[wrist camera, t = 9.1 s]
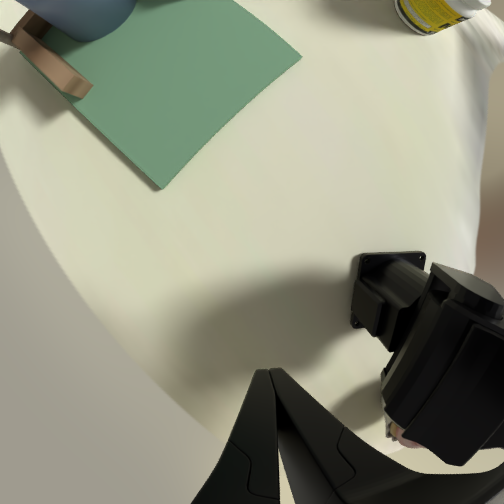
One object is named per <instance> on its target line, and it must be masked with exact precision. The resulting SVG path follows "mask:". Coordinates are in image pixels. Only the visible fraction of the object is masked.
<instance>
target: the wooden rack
mask: <svg viewBox="0 0 504 504" xmlns="http://www.w3.org/2000/svg"><path fill="white" fill-rule="evenodd" d="M52 26H53V25H52V24H50V23H49V22H47V21H46V20H44V19H43V18H42V17H40V16H39V15H37V14H36V13H34V12H33V11H31V10H30V9H29V10H28V11H27V12H26V14H25V15H24V16H23V17H22V18H21V20H20V21H19V22H18V23H17V24H16V26H15V27H14V28H13V30H12V31H11V32H10V33H7V32H5V31H3V30H1V29H0V41H1V42H3V43H5V44H8V45H10V46H13V47H15V48H17V49H19V50H21V51H22V52H23V53H24V54H25V55H26V56H27V57H28V58H29V59H30V60H31V61H32V62H33V63H34V64H35V65H36V66H37V67H38V68H39V69H40V70H41V71H42V72H43V73H44V74H45V75H46V76H47V77H48V78H49V79H50V80H51V81H52V82H53V83H54V84H55V85H56V86H57V87H58V88H59V89H60V90H61V91H63V92H66V93H69V94H71V95H74V96H76V97H79V98H82V99H83V98H84V97H85V96H86V94H87V93H88V92H89V91H90V89H91V88H92V87H93V86H94V85H93V84H92V83H90V82H89V81H88V80H87V79H86V78H85V77H84V76H82V75H81V74H80V73H79V72H78V71H77V70H76V69H75V68H73V67H72V66H71V65H70V64H69V63H68V62H67V61H65V60H64V59H63V58H62V57H61V56H60V55H59V54H57V53H56V52H55V51H54V50H53V49H52V48H51V47H49V46H48V45H47V44H46V43H45V42H44V41H42V40H41V39H42V38H43V36H44V35H45V34H46V33H47V32H48V31H49V29H50V28H51V27H52Z"/></svg>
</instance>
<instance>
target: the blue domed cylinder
mask: <svg viewBox="0 0 504 504" xmlns="http://www.w3.org/2000/svg"><path fill="white" fill-rule="evenodd" d="M16 1H17V2H19V3H20V4H22V5H23V6H25V7H26V8H28V9H30V10H31V11H33V12H34V13H36V14H37V15H39V16H40V17H42V18H43V19H44V20H46V21H47V22H49V23H50V24H52V25H53V26H55V27H56V28H57V29H59V30H60V31H62V32H63V33H65V34H66V35H67V36H69V37H70V38H72V39H73V40H75V41H78V42H90V41H94V40H98V39H100V38H103V37H105V36H107V35H108V34H110V33H112V32H113V31H115V30H116V29H117V28H118V27H120V26H121V25H122V24H123V23H124V22H125V21H126V20H127V19H128V17H129V16H130V15H131V13H132V12H133V10H134V8H135V5H136V2H137V0H16Z"/></svg>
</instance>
